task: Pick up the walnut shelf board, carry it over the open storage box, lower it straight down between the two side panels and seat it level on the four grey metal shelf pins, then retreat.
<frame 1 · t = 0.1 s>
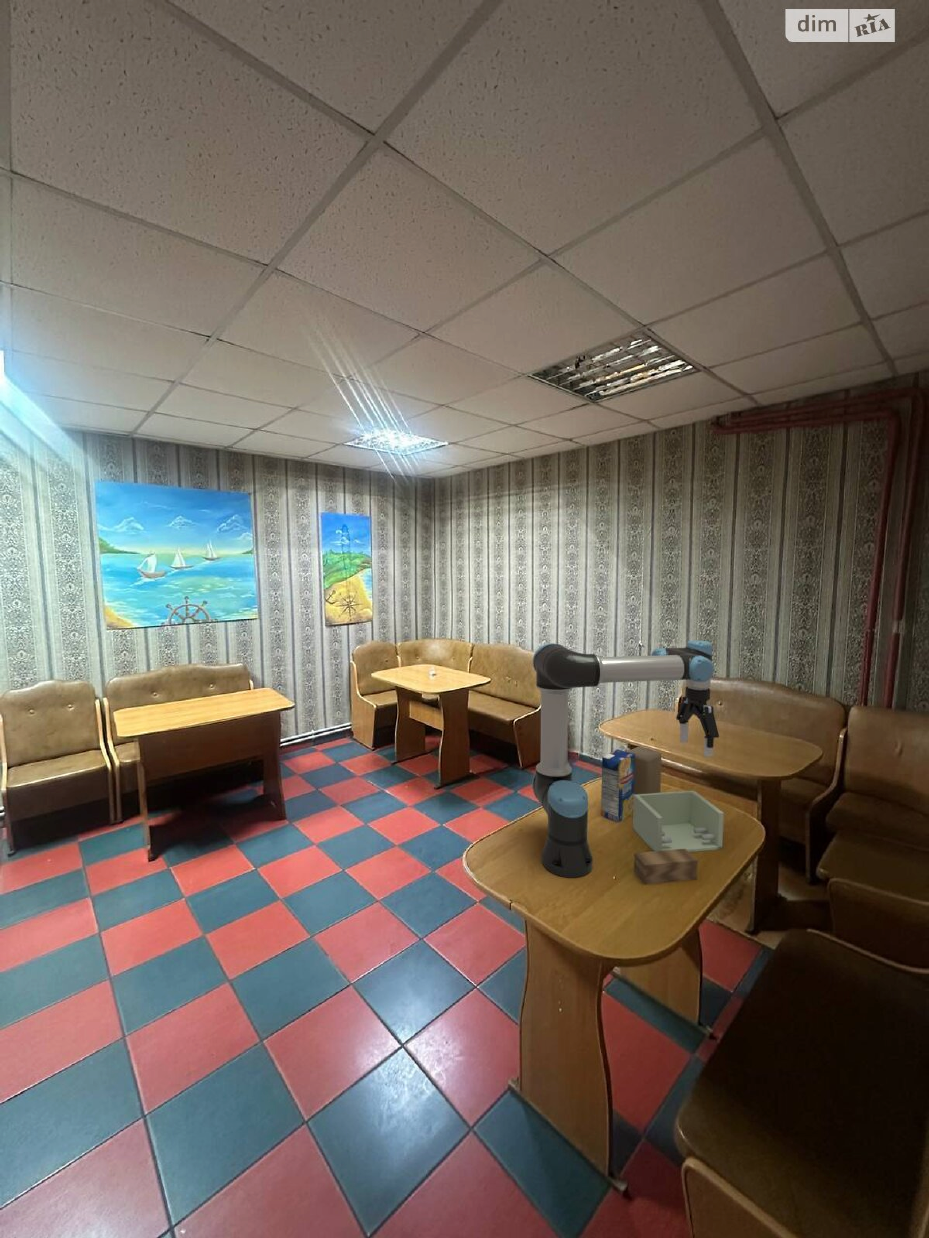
hand: (695, 749, 167), 28 cm above the table, fingers open, 13 cm apart
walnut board: (664, 876, 144), on the table
beverage box: (617, 814, 179), on the table
open storage box: (682, 844, 159), on the table
wooden block: (641, 803, 188), on the table
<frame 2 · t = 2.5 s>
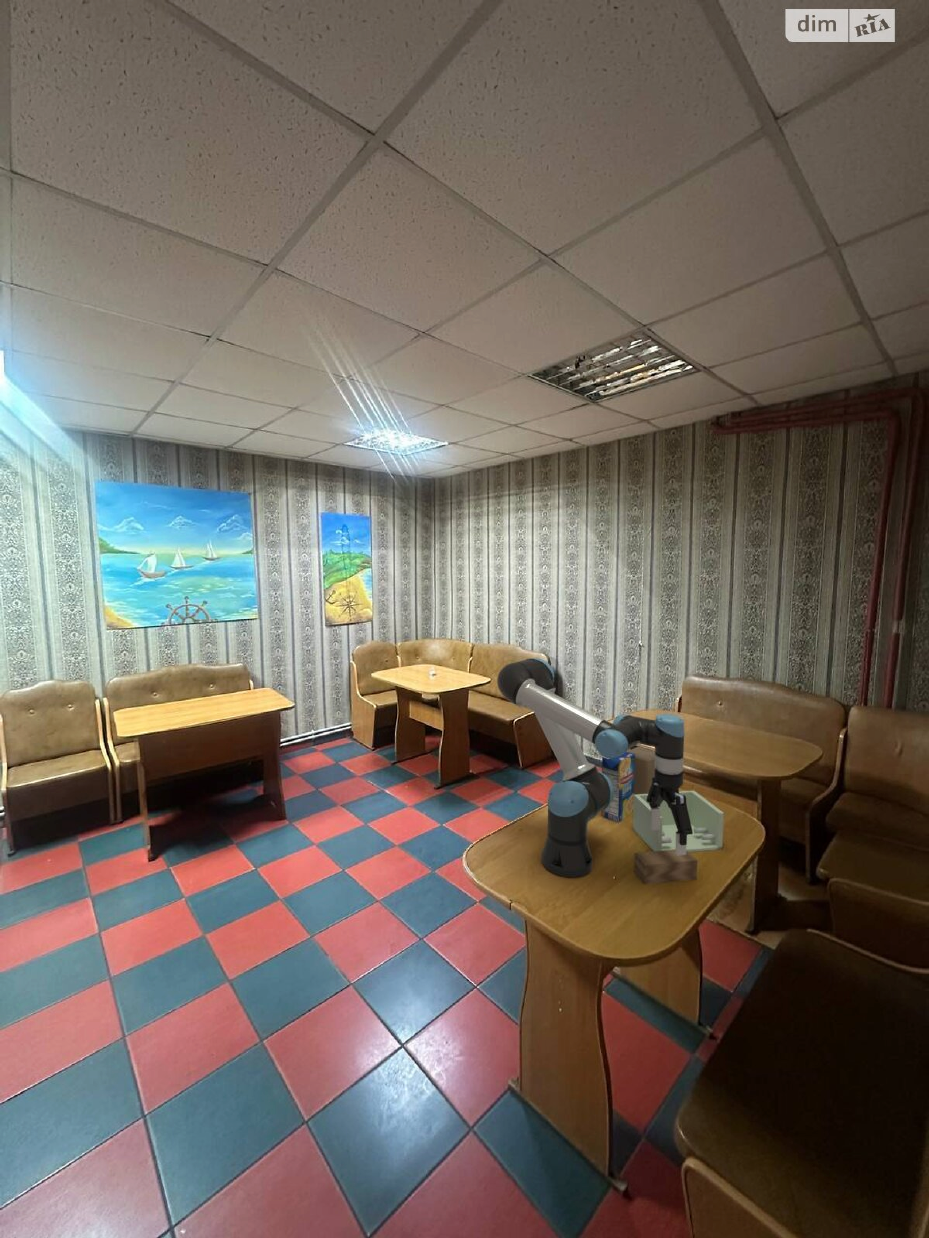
hand: (667, 841, 142), 11 cm above the table, fingers open, 13 cm apart
nothing on the table moved.
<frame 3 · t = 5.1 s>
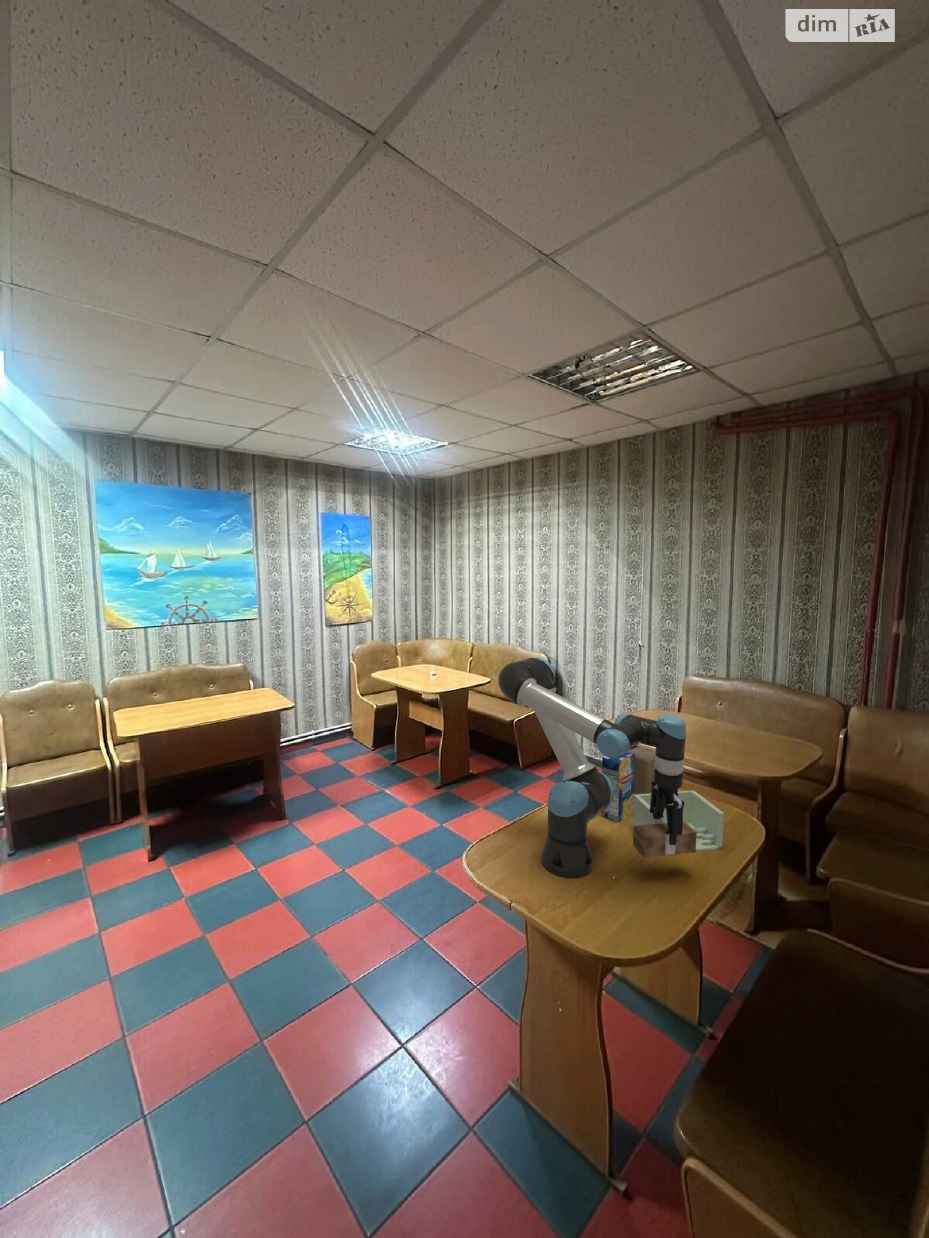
hand: (663, 846, 143), 8 cm above the table, fingers closed on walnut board, 6 cm apart
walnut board: (663, 848, 143), point 8 cm above the table, touching gripper
everything else where it was.
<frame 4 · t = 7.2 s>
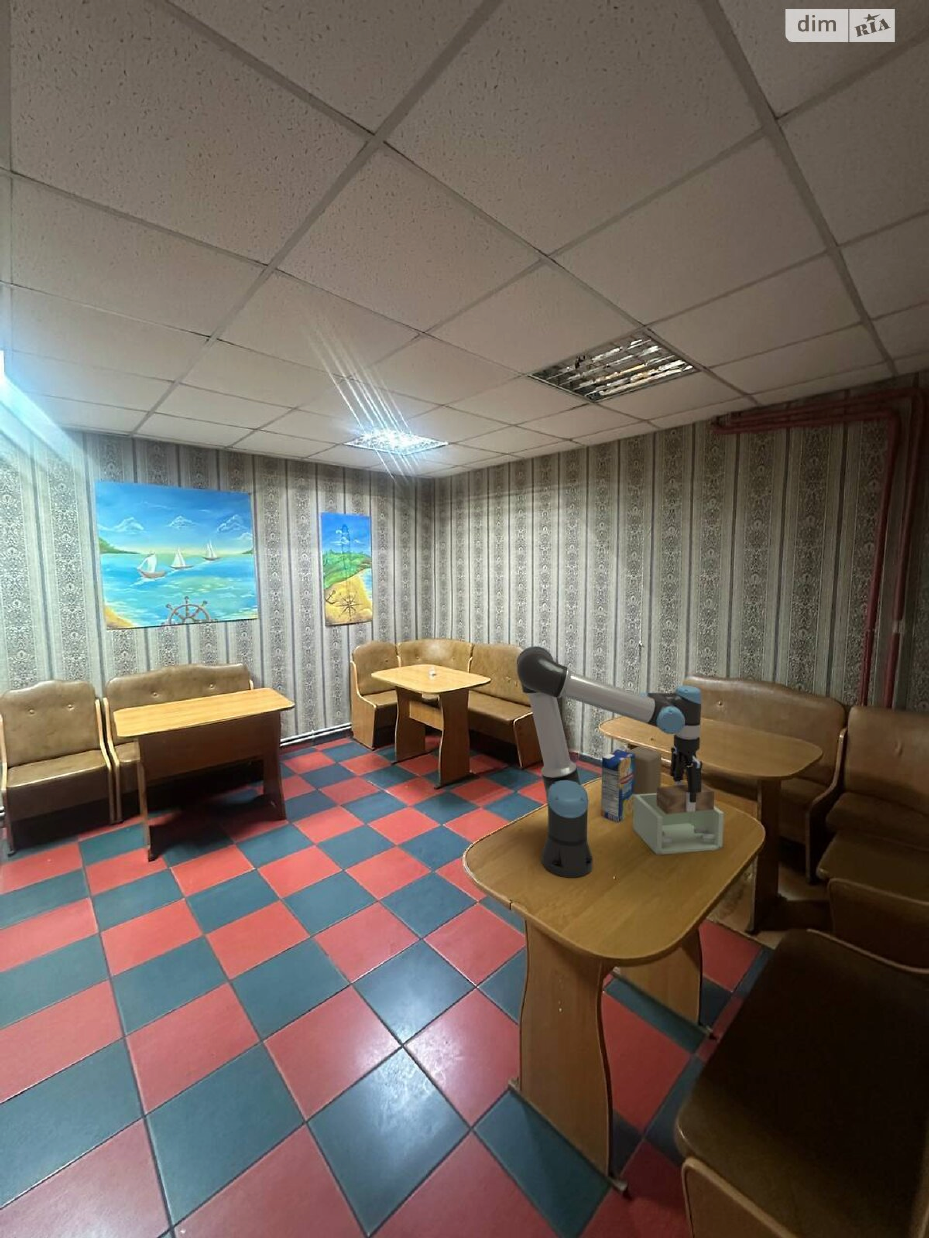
hand: (684, 805, 158), 13 cm above the table, fingers closed on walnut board, 6 cm apart
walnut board: (684, 807, 158), point 13 cm above the table, touching gripper
everything else where it was.
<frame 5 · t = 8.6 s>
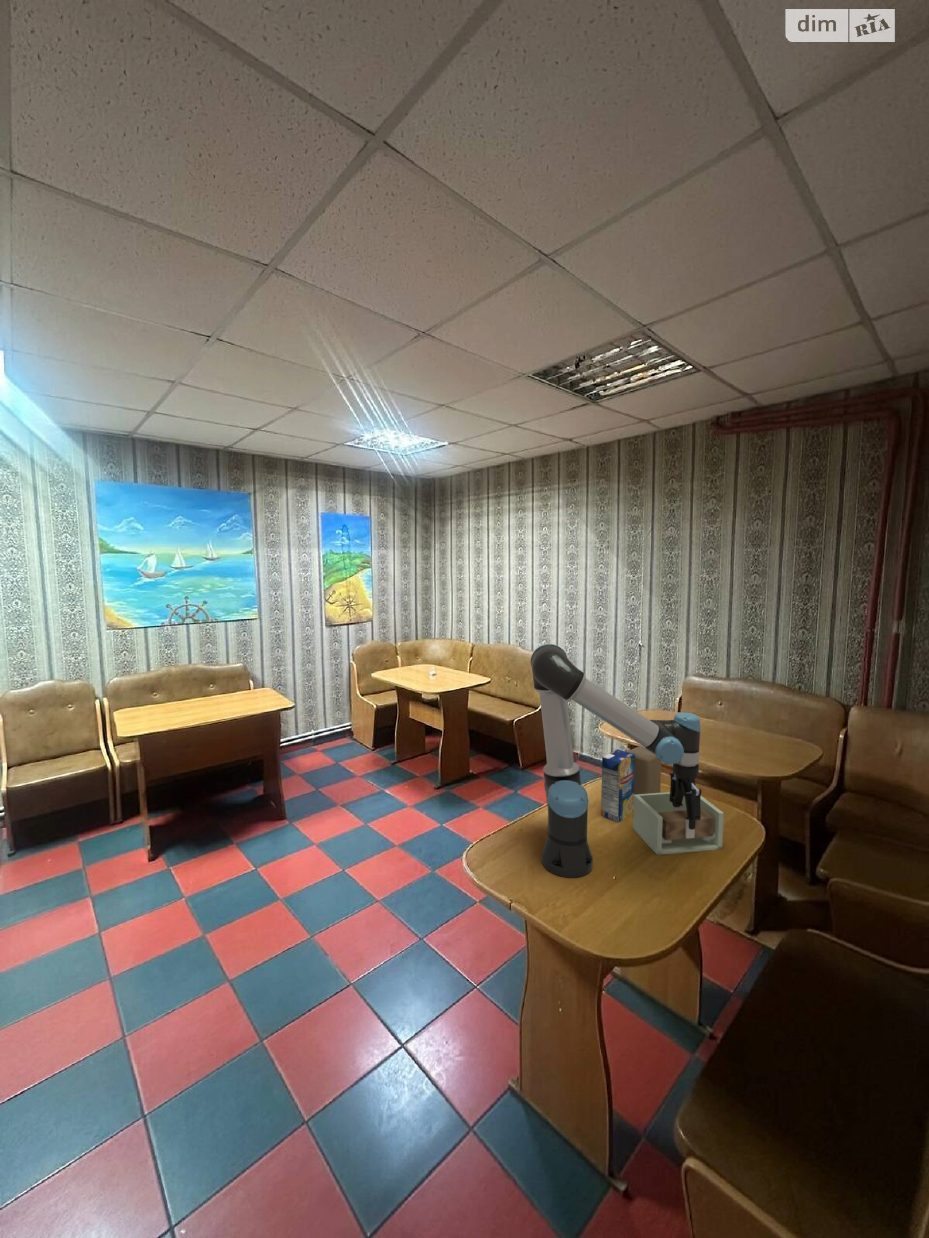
hand: (683, 831, 159), 4 cm above the table, fingers closed on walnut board, 6 cm apart
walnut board: (683, 833, 159), point 4 cm above the table, touching open storage box, gripper
everything else where it was.
when the fingers open (4 cm above the table, at t = 9.4 s): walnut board stays where it is, resting on open storage box.
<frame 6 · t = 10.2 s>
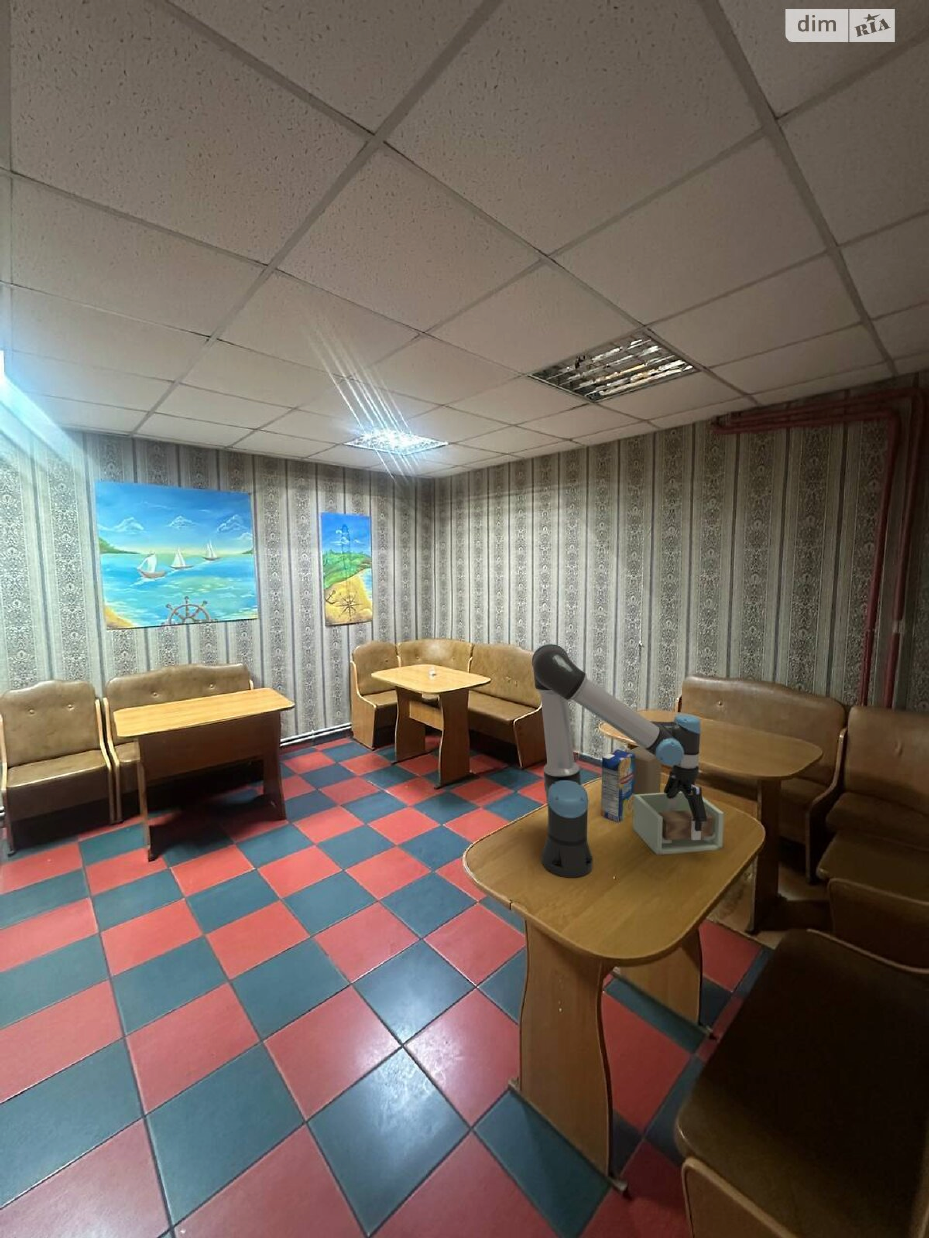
hand: (683, 827, 159), 6 cm above the table, fingers open, 13 cm apart
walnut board: (683, 833, 159), point 4 cm above the table, touching open storage box
everything else where it was.
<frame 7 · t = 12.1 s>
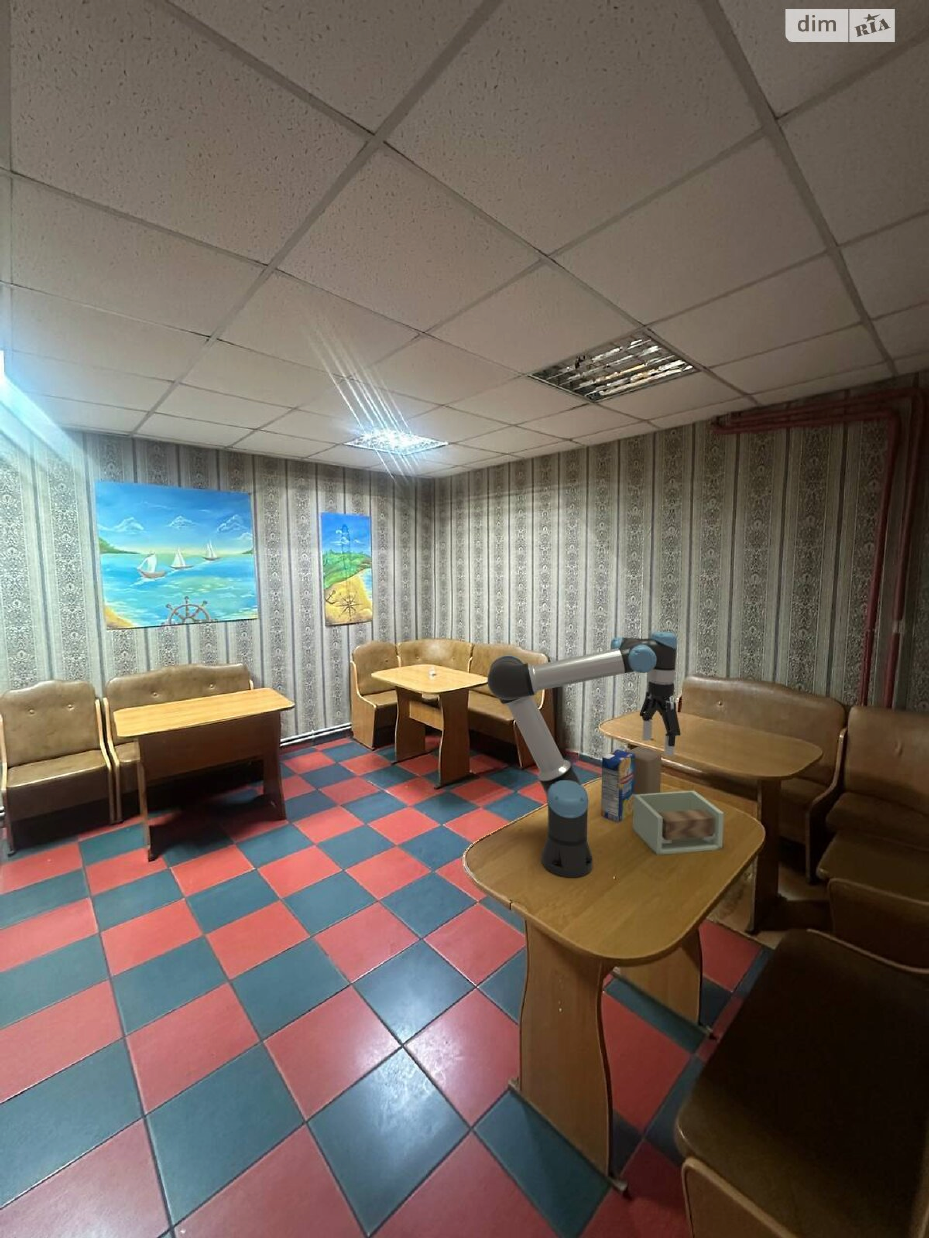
hand: (657, 747, 157), 32 cm above the table, fingers open, 13 cm apart
nothing on the table moved.
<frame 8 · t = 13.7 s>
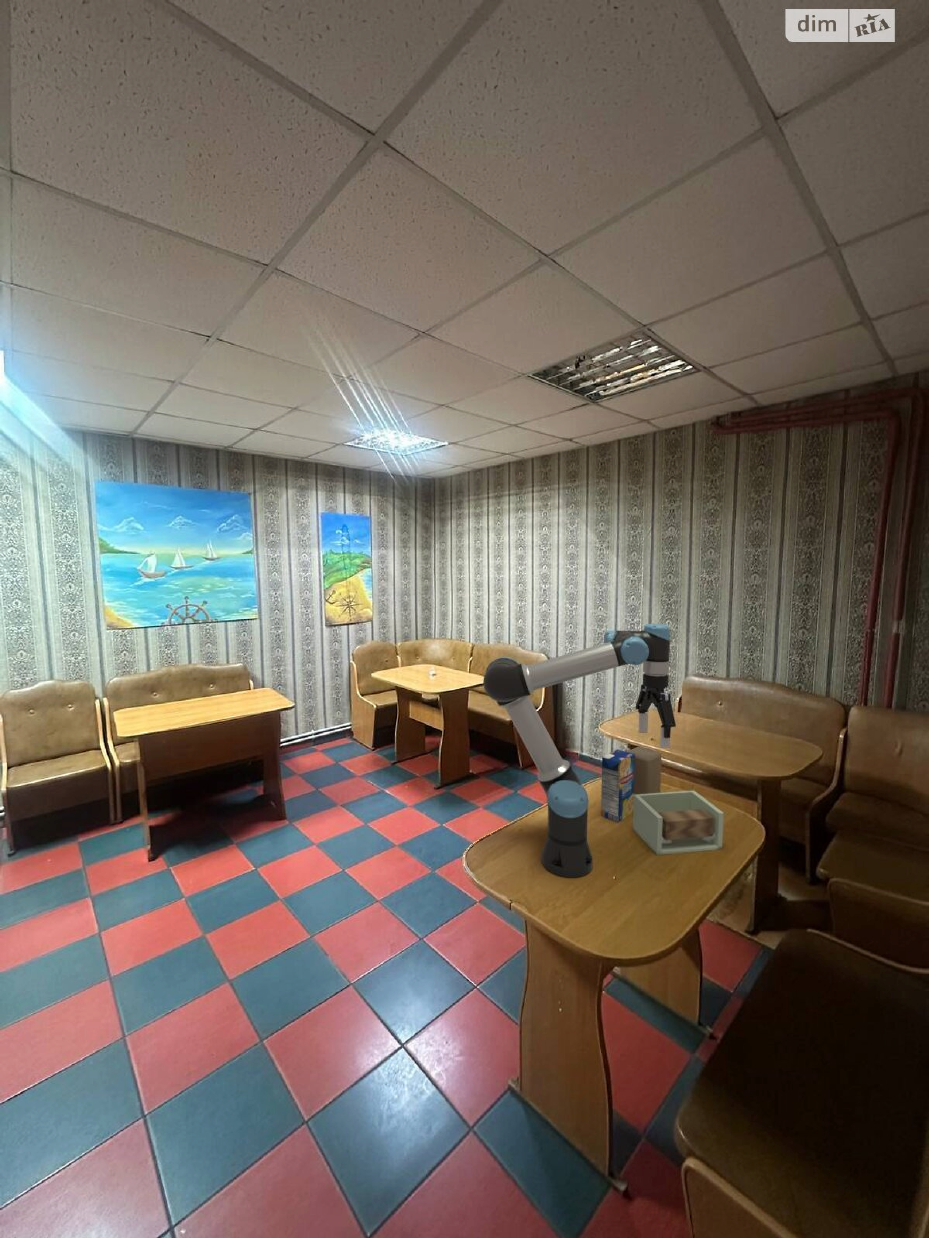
hand: (653, 739, 156), 35 cm above the table, fingers open, 13 cm apart
nothing on the table moved.
at the end: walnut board 0.3 cm off-centre on the open storage box, point 4.0 cm above the open storage box's base; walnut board tilted 0°; the gripper is holding nothing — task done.
